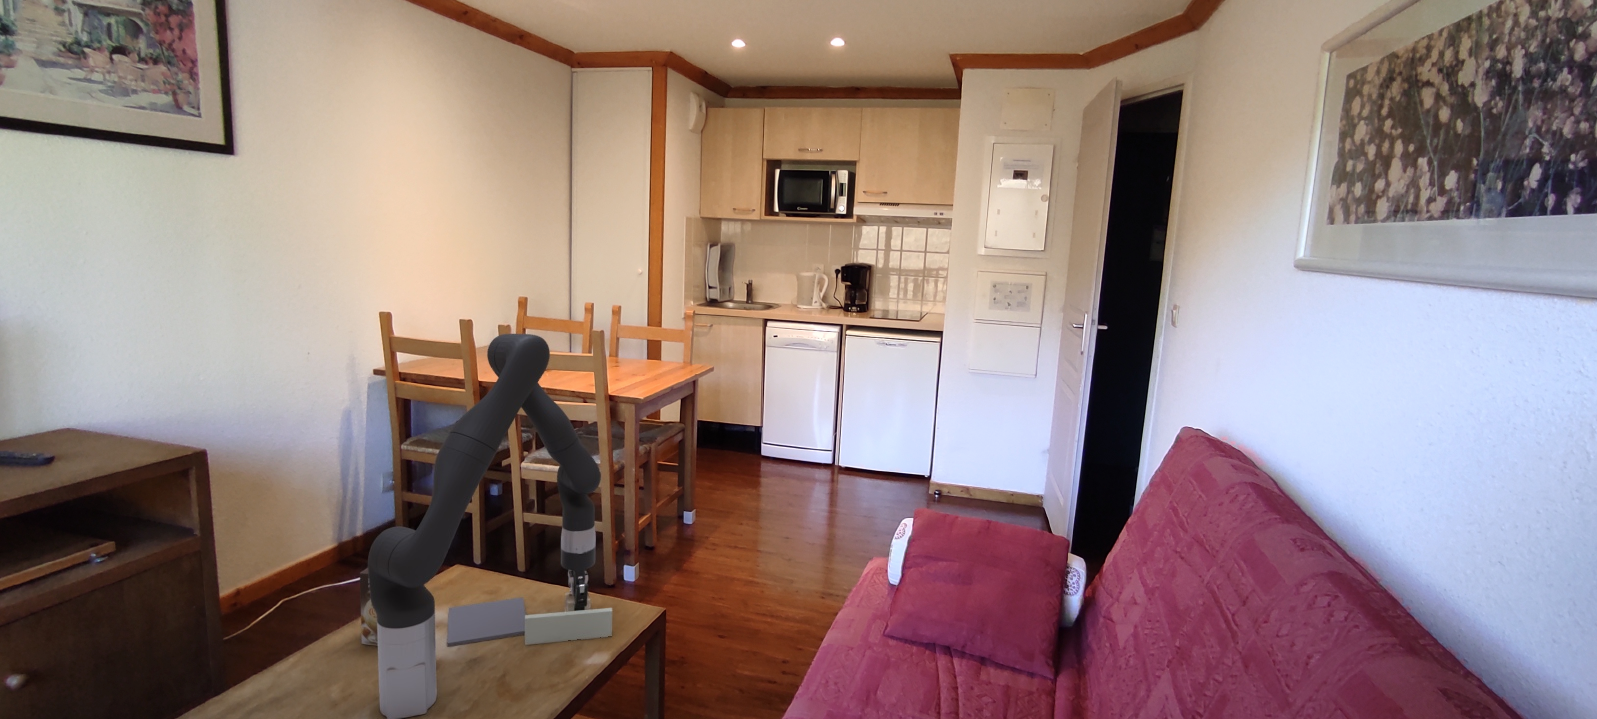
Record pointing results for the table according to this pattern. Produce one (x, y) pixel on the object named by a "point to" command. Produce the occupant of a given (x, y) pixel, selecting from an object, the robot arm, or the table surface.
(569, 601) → the letter cube
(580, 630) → the screen
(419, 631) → the robot arm
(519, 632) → the mat
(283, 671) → the table surface
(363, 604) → the coffee box
